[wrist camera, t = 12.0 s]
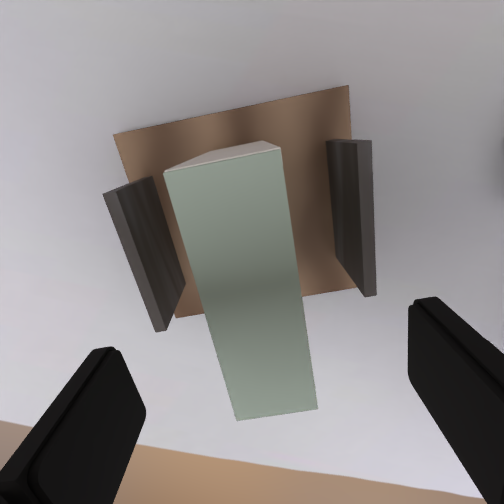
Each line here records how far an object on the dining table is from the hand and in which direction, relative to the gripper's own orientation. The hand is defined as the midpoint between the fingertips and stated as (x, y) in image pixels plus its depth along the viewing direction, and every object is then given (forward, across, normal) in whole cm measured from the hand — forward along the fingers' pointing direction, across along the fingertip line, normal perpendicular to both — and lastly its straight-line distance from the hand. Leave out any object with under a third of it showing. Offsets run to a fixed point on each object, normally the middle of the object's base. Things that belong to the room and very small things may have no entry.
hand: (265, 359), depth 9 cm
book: (+17, +1, 0) cm, 17 cm away
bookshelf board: (+18, +1, 0) cm, 18 cm away
